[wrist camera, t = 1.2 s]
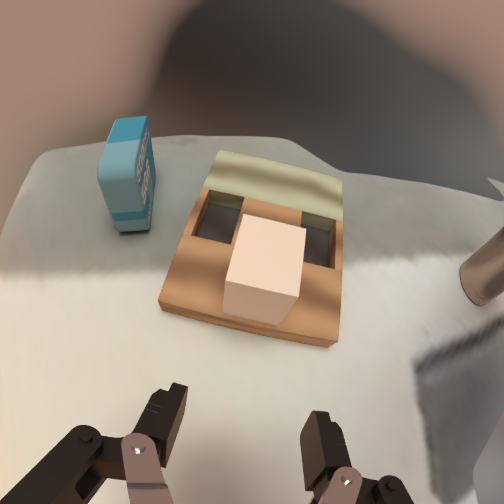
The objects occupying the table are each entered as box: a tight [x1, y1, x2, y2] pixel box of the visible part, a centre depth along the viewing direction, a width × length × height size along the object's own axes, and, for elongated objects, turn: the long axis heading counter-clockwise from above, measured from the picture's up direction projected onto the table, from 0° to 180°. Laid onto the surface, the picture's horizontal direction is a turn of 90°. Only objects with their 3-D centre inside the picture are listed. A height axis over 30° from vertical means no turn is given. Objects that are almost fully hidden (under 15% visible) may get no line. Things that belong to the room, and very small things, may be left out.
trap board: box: [158, 150, 343, 347], centre depth 37 cm, size 26×20×3 cm
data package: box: [97, 116, 155, 232], centre depth 34 cm, size 12×4×12 cm, turn 8°
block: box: [222, 214, 306, 326], centre depth 28 cm, size 7×6×8 cm
